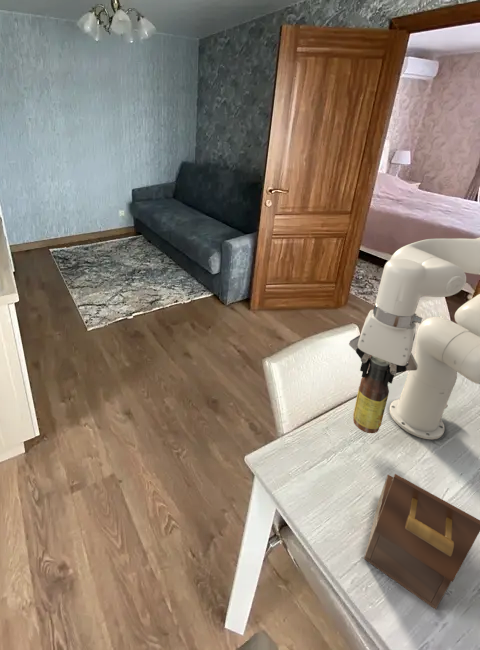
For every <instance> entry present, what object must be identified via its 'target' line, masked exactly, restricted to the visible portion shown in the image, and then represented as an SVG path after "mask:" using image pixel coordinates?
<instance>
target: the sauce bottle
mask: <svg viewBox="0 0 480 650" xmlns="http://www.w3.org/2000/svg"><path fill="white" fill-rule="evenodd" d="M369 358H370V364H369V368H368V371H367V374H366V376H365V377H364V378H363V377H362V376H361V379H360V384H359V386H358V390H357V394H356V398H355V405H354V409H353V416H352V421H353V424H354V425H355V427H357V429H359V430H360V431H362V432H363V433H367V434H376V433H378V432H379V430H380V428H381V426H382V422H383V418H384V414H385V411H386V406H387V402H388V397H389V395H390V389H389V384H388V385H387V387H385V386H384V382H385V378H386V375H387V372H388V369H389V367H390V362H388V361H385V360H383V359H380V358H378V357H375V356H372V355H370V357H369Z"/></svg>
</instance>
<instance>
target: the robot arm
mask: <svg viewBox="0 0 480 650" xmlns="http://www.w3.org/2000/svg"><path fill="white" fill-rule="evenodd" d="M466 273H467V274H472V275H478V276H479V275H480V236H479V237H476V238H461V237H460V238H459V237H458V238H427V239H423V240H422V239H421V240H418V241H415V242H412V243H409V244H406V245H404V246H402V247H400V248H399V249H397V250H395V252H394V253H392V255H391V257H390V258H389V260H388V261H386V262H385V264H384V266H383V270H382V274H381V277H380V282H379V286H378V290H377V293H376V299H375V301H374V306H373V309H370V310H369V312H368V313H367V315H366V318H365V319H364V323H363V325H362V328H361V332H360V334H359V335H357V336H356V337H354V338H352V339H351V340H350V341H349V343H348V345H349V346H350V347H351V349H353V351H355V353H356V354H357V356H358V357H359V359H360V362H361V365H360V368H359V371H360V372H362V373H361V378H362V377H363V378H364V377H365V376H366V374H367V373H368V370H369V367H370V358H371V356H375V357H378V358H380V359H383V360H385V361H388V362H390V366H389V369H388V371H387V375H386V378H385V382H384V386H385V387H387V385H388V386H389V384H393V382H394V381H393V380H394V378H395V376H396V375H397V374H399V373H400V374H401V373H403V372H406V371H408V373H407V376H406V378H405V381H404V384H403V387H402V388H403V389H402V390H401V393H400V397H399V398H397V399H394V400H393V401H392V402H391V403H390V405H389V408H388V409H389V415H390V417H391V418H392V419H393V421H394V422H395V423H396V424H397V426H399V427H400V428H401V429H403V430H404V431H405V432H407V433H409V434H411V435H412V436H415V437H417V438H420V439H424V440H432V441H433V440H438V439H440V438H441V437H443V436H444V432H445V424H444V422H443V420H442V416H443V414H444V412H445V410H446V409H448V407H449V406H448V402H449V399H450V397H451V394H452V392H453V389H454V387H455V385H456V383H457V379H458V374H459V375H461V376H463V377H464V378H465V379H467V380H469V381H470V382H472V383H474V384H477V385H480V293H478V294H477V295H475V296H474V297H472V298H470V299H469V300H467V301H466V302H465V303H462V305H461V306H459V307H458V308H457V310H456V311H455V313H454V321H455V322H454V321H453V320H450V319H447V318H445V317H441V316H430V317H428V318H425V319H424V320H423V317H422V316H419V315H417V313H416V311H417V308H418V305H419V302H420V299H421V298H422V297H430V298H446V297H452V296H453V295H457V294H458V293H460V292H461V291H462V290H463V288H465V286H466V283H467V275H466ZM416 324H419V325H418V327H417V325H416ZM414 343H415V348H414V354H413V353H412V350H413V347H414Z"/></svg>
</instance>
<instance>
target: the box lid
mask: <svg viewBox="0 0 480 650" xmlns="http://www.w3.org/2000/svg"><path fill="white" fill-rule="evenodd" d="M392 477H393V480H392V483H391V486H390V488H389V491H388V494H387V497H386V499H385V502H384V505H383V508H382V510H381V513H380V516H379V519H378V521H377V524H376V527H375V532H377V533H378V534H380V535H382V536H383V537H385V538H386V539H388V540H389V541H391V542H392V543H394V544H395V545H397V546H398V547H400V548H401V549H403V550H404V551H406V552H408V553H409V554H411V555H412V556H414V557H415V558H417V559H418V560H420V561H421V562H423V563H424V564H426V565H427V566H429V567H430V568H432V569H434V570H435V571H437V572H438V573H440V574H441V575H443V576H444V577H446V578H447V579H449V580H450V581H451V583H453V582H454V580H455V578H456V576H457V574H458V573H459V571H460V569H461V567H462V565H463V564H464V561H465V560H466V558H467V556H468V555H469V553H470V550H471V549H472V546H473V544H474V543H475V542H476V539H477V537H478V536H479V534H480V519H479V518H477V517H475V516H473V515H472V514H469V513H468V512H465V511H464V510H462V509H460V508H459V507H457V506H455V505H453V504H451V503H449V502H447V501H446V500H444V499H442V498H440V497H438V496H437V495H435V494H434V493H431V492H430V491H428V490H426V489H424V488H422V487H421V486H418V485H417V484H414V483H413V482H411V481H409V480H407V479H406V478H404V477H403V476H400V475H398V474H397V473H394V475H393V476H392Z"/></svg>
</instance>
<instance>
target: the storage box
mask: <svg viewBox="0 0 480 650" xmlns="http://www.w3.org/2000/svg"><path fill="white" fill-rule="evenodd" d="M393 477H394V476H392V475H390V474H387V476H386V479H385V481H384V485H383V487H382V490H381V493H380V496H379V498H378V501H377V505H376V509H375V513H374V517H373V520H372V526H371V529H370V534H369V536H368V541H367V545H366V548H365V549H366V550H365V553H364V557H363V559H364V560H365V561H366V562H368V564H371V565H372V566H373V567H374V568H376V569H377V570H378V571H380V572H381V573H383V574H384V575H386V576H387V577H389V578H390V579H392V580H393V581H394V582H396V583H397V584H398V585H400V586H401V587H402V588H404V589H405V590H407V591H409V592H410V593H411V594H412V595H414V596H416V597H417V598H419V599H420V600H421V601H423V602H424V603H425V604H427V605H428V606H429V607H431V608H433V609H434V610H437V608H438V606H439V605H440V603H441V601H442V600H443V597H444V596H445V594H446V592H447V590H448V589H449V587H450V585H451V583H452V581H450V580H449V579H447V578H446V577H444V576H443V575H441V574H440V573H438V572H437V571H435V570H434V569H432V568H430V567H429V566H427V565H426V564H424V563H423V562H421V561H420V560H418V559H417V558H415V557H414V556H412V555H411V554H409V553H408V552H406V551H404V550H403V549H401V548H400V547H398V546H397V545H395V544H394V543H392V542H391V541H389V540H388V539H386V538H385V537H383V536H382V535H380V534H378V533H377V532H375V527H376V524H377V521H378V519H379V516H380V513H381V510H382V508H383V505H384V502H385V499H386V497H387V494H388V491H389V488H390V486H391V483H392V480H393Z"/></svg>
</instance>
